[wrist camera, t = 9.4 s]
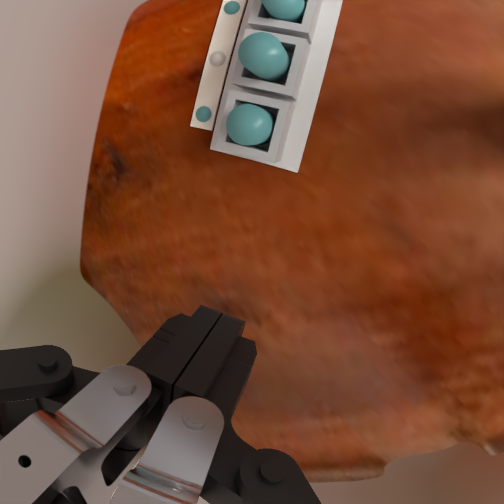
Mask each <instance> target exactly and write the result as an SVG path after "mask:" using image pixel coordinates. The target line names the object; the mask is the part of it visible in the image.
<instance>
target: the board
mask: <svg viewBox="0 0 504 504" xmlns="http://www.w3.org/2000/svg"><path fill="white" fill-rule="evenodd" d="M304 1H305V5H306V9H305V13H304V17H303V21H302V24H298V23H293V22H288V21H282V20H276V19H272V18H271V16H270V14H269V13H268V11H267V10H266V8H265V7H264V5H263V3H262V2H261V0H248V4H247V7H246V10H245V14H244V17H243V20H242V24H241V27H240V31H239V34H238V38H237V42H236V45H235V49H234V52H233V56H232V60H231V64H230V67H229V71H228V75H227V79H226V83H225V87H224V91H223V95H222V99H221V103H220V107H219V111H218V116H217V120H216V124H215V128H214V133H213V137H212V142H211V146H210V149H211V150H215V151H219V152H223V153H227V154H231V155H235V156H239V157H243V158H247V159H250V160H254V161H258V162H261V163H265V164H268V165H272V166H276V167H279V168H283V169H286V170H289V171H293V172H296V173H298V170H299V167H300V163H301V160H302V156H303V152H304V149H305V145H306V141H307V138H308V134H309V130H310V127H311V123H312V119H313V115H314V112H315V108H316V104H317V100H318V97H319V93H320V89H321V85H322V81H323V77H324V74H325V70H326V66H327V62H328V58H329V54H330V50H331V46H332V42H333V38H334V34H335V30H336V26H337V22H338V18H339V14H340V10H341V6H342V2H343V0H304ZM257 32H266V33H270V34H272V35H274V36H275V37H276V38H278V40H279V41H280V42H281V44H282V46H283V47H284V49H285V50H286V52H287V53H288V55H289V57H290V59H291V66H290V70H289V73H288V74H287V75H286V76H285V77H284V78H283V79H281V80H279V81H275V82H268V81H264V80H262V79H260V78H259V77H258V76H256V75H255V74H254V73H252V72H251V71H249V70H248V69H247V68H245V67H244V66H243V65H242V64H241V62H240V60H239V57H238V49H239V46H240V44H241V42H242V41H243V40H244V39H245V38H246V37H247V36H249V35H251V34H253V33H257ZM242 104H252V105H255V106H258V107H260V108H263V109H265V110H268V111H270V112H271V113H272V114H273V115H274V116H275V118H276V123H275V127H274V131H273V135H272V139H271V141H269V142H268V143H265V144H258V145H241V144H238V143H236V142H234V141H233V140H232V139H231V138H230V136H229V135H228V132H227V129H226V121H227V117H228V115H229V113H230V112H231V111H232V110H233V109H234V108H235V107H237V106H239V105H242Z"/></svg>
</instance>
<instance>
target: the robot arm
mask: <svg viewBox="0 0 504 504" xmlns="http://www.w3.org/2000/svg"><path fill="white" fill-rule="evenodd" d="M244 326H245V321H243V320H240V319H237V318H235V317H232V316H229V315H227V314H223V313H221V312H218V311H216V310H213V309H211V308H208V307H205V306H203V305H201V306H200V307H199V308H198V309H197V310H196V312H195V313H194V314H193V315H192V316H191V317H189V316H187V315H184V314H182V313H181V314H179V315H176V316H174V317H172V318H169V319H168V320H167V321H166V322H165V323H164V324H163V325H162V326H161V327H160V329H159V330H158V331H157V332H156V333H155V334H154V335H153V337H151V338H150V339H149V340H148V341H147V343H146V344H145V345H144V346H143V347H142V348H141V349H140V350H139V351H138V352H137V353H136V355H135V356H134V357H133V358H132V359H131V360H130V361H129V362H128V363H127V364H126V365H115V366H111V367H109V368H107V369H105V370H104V371H103V372H102V373H97V372H93V371H89V370H85V369H81V368H78V367H74V366H73V365H72V359H71V357H70V355H69V354H68V353H67V352H66V351H65V350H64V349H62V348H60V347H57V346H53V345H43V346H35V347H28V348H19V349H9V350H0V504H196V503H197V501H198V498H199V496H201V497H202V498H203V499H204V500H206V501H207V502H208V503H210V504H321V502H320V501H319V499H318V497H317V496H316V494H315V492H314V491H313V489H312V488H311V486H310V484H309V483H308V481H307V479H306V478H305V476H304V474H303V473H302V471H301V469H300V468H299V466H298V464H297V463H296V462H295V460H294V459H293V458H291V457H290V456H289V455H287V454H286V453H284V452H281V451H279V450H275V449H259V450H256V449H254V448H253V447H252V446H250V445H249V444H247V443H246V442H244V441H243V440H242V439H241V438H240V437H239V436H238V435H237V434H236V432H235V431H234V429H233V427H232V424H231V418H232V416H233V414H234V412H235V409H236V407H237V405H238V402H239V400H240V398H241V395H242V393H243V391H244V388H245V386H246V383H247V381H248V378H249V375H250V372H251V369H252V367H253V364H254V361H255V358H256V355H257V351H256V345H255V341H252V340H249V339H246V338H244V337H241V336H242V333H243V329H244ZM34 398H35V399H34ZM27 399H29V400H27ZM19 400H21V401H19ZM10 401H13V402H10ZM140 458H141V459H140ZM139 459H140V461H139V463H138V464H137V466H136V467H135V468H134V469H132V468H133V467H134V465H135V464H136V463H137V462H138V460H139ZM118 485H119V486H118ZM117 486H118V488H117ZM116 488H117V489H116ZM115 489H116V491H115V493H114V495H113V497H112V499H111V496H112V494H113V492H114V490H115Z"/></svg>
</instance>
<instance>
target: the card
mask: <svg viewBox="0 0 504 504" xmlns="http://www.w3.org/2000/svg"><path fill="white" fill-rule="evenodd" d="M246 2H247V0H223V3H222V6H221V9H220V13H219V16H218V19H217V23H216V26H215V30H214V33H213V37H212V40H211V44H210V47H209V51H208V55H207V58H206V62H205V66H204V70H203V74H202V78H201V82H200V86H199V90H198V94H197V98H196V102H195V107H194V111H193V116H192V120H191V125H190V126H192V127H196V128H201V129H206V130H211V131H213V126H214V122H215V118H216V113H217V109H218V105H219V101H220V97H221V93H222V89H223V85H224V81H225V77H226V73H227V69H228V66H229V62H230V58H231V54H232V51H233V47H234V43H235V40H236V36H237V33H238V29H239V26H240V22H241V19H242V15H243V12H244V9H245V5H246Z"/></svg>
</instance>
